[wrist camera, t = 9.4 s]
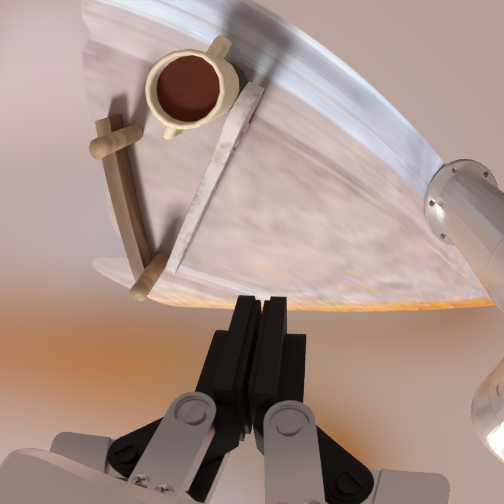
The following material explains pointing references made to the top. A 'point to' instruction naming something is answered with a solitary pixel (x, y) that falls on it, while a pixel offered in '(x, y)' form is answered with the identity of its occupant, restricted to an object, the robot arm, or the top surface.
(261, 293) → the top surface
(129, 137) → the peg rack
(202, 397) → the robot arm
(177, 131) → the character mug
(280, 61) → the top surface
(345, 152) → the top surface
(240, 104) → the wrench
